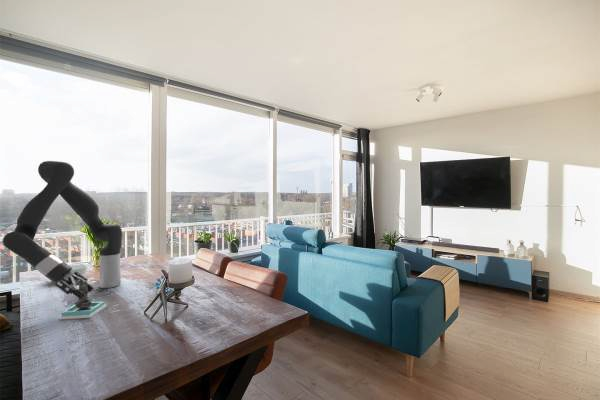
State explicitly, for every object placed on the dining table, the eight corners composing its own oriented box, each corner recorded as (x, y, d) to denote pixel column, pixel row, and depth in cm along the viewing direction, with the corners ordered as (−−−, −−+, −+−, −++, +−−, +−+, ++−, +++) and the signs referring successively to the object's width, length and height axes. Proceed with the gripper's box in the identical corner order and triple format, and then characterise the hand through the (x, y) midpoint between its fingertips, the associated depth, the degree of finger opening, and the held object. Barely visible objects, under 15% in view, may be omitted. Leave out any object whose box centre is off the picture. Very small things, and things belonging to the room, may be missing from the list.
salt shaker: (80, 307, 121) (80, 279, 121) (95, 307, 122) (95, 279, 122) (71, 313, 115) (70, 284, 115) (86, 312, 116) (85, 283, 116)
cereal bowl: (81, 274, 177) (81, 262, 177) (91, 278, 167) (91, 266, 167) (45, 280, 163) (45, 268, 163) (54, 286, 153) (54, 273, 153)
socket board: (78, 307, 124) (78, 302, 124) (106, 306, 125) (106, 300, 125) (59, 319, 112) (59, 313, 112) (90, 317, 114) (90, 311, 114)
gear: (154, 292, 139) (156, 273, 145) (153, 297, 142) (155, 279, 149) (179, 291, 144) (180, 274, 150) (177, 297, 147) (178, 280, 154)
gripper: (52, 265, 109) (87, 292, 113) (70, 257, 123) (101, 281, 126) (35, 280, 108) (72, 307, 111) (55, 270, 121) (87, 294, 125)
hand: (87, 293), depth 119 cm, fingers open, 8 cm apart
